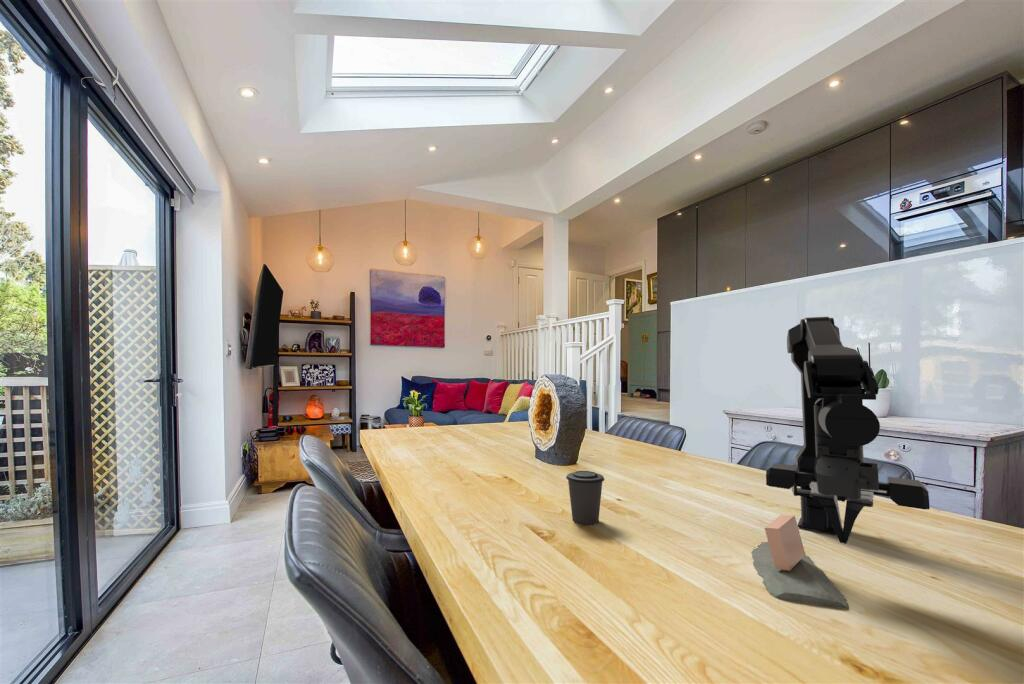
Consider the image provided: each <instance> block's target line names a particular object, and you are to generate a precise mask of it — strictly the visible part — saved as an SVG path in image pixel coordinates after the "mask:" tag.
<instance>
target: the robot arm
mask: <svg viewBox="0 0 1024 684" xmlns="http://www.w3.org/2000/svg"><path fill="white" fill-rule="evenodd" d="M786 349H787V354H790V359H791V360H790V361H791V363H792V364H793V365H794V366H795V368H796V369H797V370H798V372H799V374H800V389H801V390H800V391H801V407H802V409H801V410H802V414H801V415H802V430H803V432H802V433H803V434H802V435H803V445H802V446H801V447H800V449H799V450H798V451H797V453H796V454H795V457H794V458H795V465H794V464H784V463H775V462H774V463H772V464H771V465H770V466H769V467H768V468H767V469H766V473H765V481H766V483H765V485H766V486H768V487H771V488H779V489H784V490H790V489H791V492H792V495H793V496H795V497H800V518H799V521H798V523H797V526H798V529H804V530H810V531H815V532H819V533H825V534H830V535H836V537H837V539H838V541H839V543H840V544H845V545H847V544H848V540H850V539H849V538H850V536H851V533H852V529H853V527H854V526H855V525H854V524H855V522H856V520H857V518H858V517H859V514H860V513H861V511H862V510H863V509H864V508H865V507H866V508H873V507H874V498H875V497H874V496H881V497H889V499H890V500H891V501H892V502H893V503H894V504H895V505H897V506H899V507H905V508H912V509H913V508H914V509H919V510H930V495H929V491H928V489H927V487H926V485H925V484H924V483H922V482H921V481H920V480H918V479H910V478H903V477H893V476H887V482H882V481H879V467H878V463H874V462H865V460H864V459H865V458H864V446H865V445H869V444H870V443H871V442H873V441H875V440H876V438H877V437H878V435H879V433H880V430H881V423H880V421H879V418H878V417H877V415H876V414H875V412H874V411H873V410H872V409H870V408H869V407H868V406H865V405H863V401H864V400H868V401H869V400H870V401H871V400H873V401H876V400H877V395H878V394H879V389H880V388H879V385H878V382H877V379H876V376H875V373H874V370H873V368H872V367H870V365H869V362H868V360H864V359H863V356H862V355H861V354H860V353H859V351H858V350H856V349H854V348H851V347H847V346H844V345H843V343H842V341H841V334H840V328H839V327H838V326H836V324H835V320H834V317H829V316H815V317H814V316H813V317H811V316H810V317H805V318H801V319H800V321H799V323H798V324H797V325H794V326H793V327H791V328H789V329H788V330H787V336H786ZM839 501H840V502H844V503H845V502H846V504H845V513H844V519H843V524H842V518H841V511H840V506H839Z"/></svg>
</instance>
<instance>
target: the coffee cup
mask: <svg viewBox="0 0 1024 684" xmlns="http://www.w3.org/2000/svg"><path fill="white" fill-rule="evenodd" d="M565 479H566V480H567V482H568V483H567V484H568V492H569V499H570V509H571V518H572V522H573V521H574V522H575V523H574V522H573V523H574V524H576V523H578V524H577V525H579V524H582V525H581V526H586V525H589V526H595V525H597V524H598V523H599V522H600V521H599V519H600V510H601V501H602V500H601V499H602V490H603V482H605V479H606V478H605V477H604V475H602V474H600V473H598V472H595V471H590V470H575V471H572V472H569V473H567V474H566V477H565ZM596 523H597V524H596ZM594 524H595V525H594Z"/></svg>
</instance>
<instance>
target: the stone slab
mask: <svg viewBox="0 0 1024 684" xmlns="http://www.w3.org/2000/svg"><path fill="white" fill-rule="evenodd" d="M760 543H761V544H760V545H758V546H757V547H758V548H756V549H754V548H753V549H754V550H753V549H752V550H753V551H752V550H751V551H752V552H750V553H751V557H752V560H753V562H752V565H753V568H754V570H755V571H756V572H757V573H756V574H757V575H758V576H759V577H761V578H762V579H763V580H762V584H763V585H764V588H765V589H766V591H767V592H768V593H769V594H770V595H771V596H772V597H773V598H775V599H778V600H782V601H790V602H796V603H797V602H798V603H805V604H811V605H817V606H825V607H830V608H831V607H833V608H837V609H838V608H839V609H845V610H848V609H849V604H848V602H847V601H848V600H847V598H846V597H845V596H844V594H843V593H842V592H841V591H840V590H839V589H838V588H837V587H836V586H835V584H834V583H833V582H832V581H830V578H828V576H827V574H826V573H825V571H824V570H823V569H821V568H820V567H818V566H817V565H816V564H815V563H814V561H813V560H812V559H811V557H810V556H808V555H805V556H804V557H803V558H802V559H801V560H800V561H799V562H798V563H797V564H796V565H795V566H794V567H793V568H792V569H791V570H790V571H788V570H782V569H775V565H774V561H773V558H772V554H771V550H770V546H769V543H768V541H764V542H763V541H762V542H760Z"/></svg>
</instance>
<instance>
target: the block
mask: <svg viewBox="0 0 1024 684" xmlns="http://www.w3.org/2000/svg"><path fill="white" fill-rule="evenodd" d="M796 519H797V518H796V516H795V515H793V514H792V515H791V514H780V515H779V516H777V517H776V518H775V519H774V520H773V521H771V522H770V523H768V524H767V525H765V527H764V531H765V535H766V538H767V542H768V543H769V546H770V550H771V554H772V558H773V561H774V565H775V569H782V570H788V571H790V570H791V569H792V568H793V567H794V566H795V565H796V564H797V563H798V562H799V561H800V560H801V559H802V558H803V557H804V556H805V555H806V552H805V547H804V544H803V540H802V537H801V533H800V530H799V529H800V528H799V527H798V523H797V520H796ZM806 556H807V555H806Z"/></svg>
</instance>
